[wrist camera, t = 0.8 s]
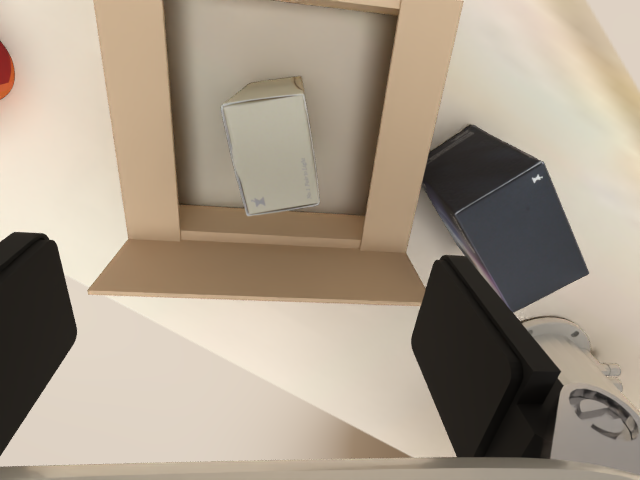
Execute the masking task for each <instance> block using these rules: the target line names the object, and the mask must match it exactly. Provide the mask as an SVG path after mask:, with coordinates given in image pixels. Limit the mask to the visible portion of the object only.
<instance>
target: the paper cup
mask: <svg viewBox="0 0 640 480" xmlns="http://www.w3.org/2000/svg"><path fill="white" fill-rule="evenodd" d="M14 78H15V73H14V66H13V63H12V60H11V57H10V55H9V53H8V51H7V50H6V48H5V47H4V45H3V44H2V43H1V41H0V99H2V98H4V97H5V96H6V95H7V94H8V93H9V92H10V90H11V89H12V87H13V84H14Z"/></svg>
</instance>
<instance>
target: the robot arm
mask: <svg viewBox="0 0 640 480" xmlns="http://www.w3.org/2000/svg"><path fill="white" fill-rule="evenodd" d="M76 335H77V327H76V323H75V319H74V315H73V310H72V306H71V302H70V298H69V294H68V289H67V285H66V281H65V277H64V273H63V268H62V264H61V260H60V256H59V251H58V247H57V244H56V243H55V241H53V240H49V238H48V237H47V235H45V234H43V233H25V232H14V233H12V234H10V235H9V236H8V237H6V238H5V239H4V240H2V241H1V242H0V456H1V454H2V453H3V451H4V450H5V448H6V447H7V445H8V443H9V442H10V440H11V439H12V437H13V436H14V434H15V433H16V431H17V430H18V428H19V427H20V425H21V424H22V422H23V421H24V419H25V418H26V416H27V414H28V413H29V411H30V410H31V408H32V407H33V405H34V404H35V402H36V401H37V399H38V398H39V396H40V395H41V393H42V392H43V390H44V389H45V387H46V385H47V384H48V382H49V381H50V379H51V378H52V376H53V375H54V373H55V372H56V370H57V369H58V367H59V365H60V364H61V362H62V361H63V360H64V358H65V356H66V355H67V353H68V351H69V350H70V349H71V347H72V346H73V344H74V342H75V339H76ZM411 345H412V349H413V352H414V355H415V357H416V359H417V362H418V364H419V367H420V369H421V371H422V374H423V376H424V379H425V381H426V383H427V386H428V388H429V391H430V393H431V395H432V398H433V400H434V403H435V405H436V408H437V410H438V412H439V415H440V417H441V420H442V422H443V424H444V427H445V429H446V432H447V434H448V436H449V439H450V441H451V444H452V446H453V448H454V451H455V453H456V456H457V457H433V458H374V459H373V458H371V459H370V458H369V459H313V460H312V459H311V460H310V459H307V460H265V461H264V460H260V461H259V460H258V461H211V462H166V463H126V464H87V465H53V466H52V465H50V466H12V467H0V480H640V412H639V411H638V410H637V409H636V408H635V407H634V406H633V405H632V404H631V402H630V401H629V400H628V399H627V398H626V397H625V396H624V395H623V394H622V393H621V392H622V389H623V387H622V383H621V382H620V380H619V379H617V378H616V377H606V376H619V375H620V373H621V369H620V367H619V365H617V364H613V363H603V364H600V363H599V362H598V361H597V360H596V359H595V358H594V357H593V355H592V354H591V353H590V352H591V346H590V341H589V339H588V337H587V335H586V334H585V333H584V332H583V331H582V330H581V329H580V328H579V327H578V326H577V325H576V324H574V323H573V322H570V321H568V320H566V319H561V318H551V317H546V318H538V319H534V320H530V321H526V322H523V323H521V322H520V321H519V320H518V318H517V317H516V316H515V315H514V314H513V312H512V311H511V310H510V309H509V308H508V306H507V305H506V304H505V303H504V301H503V300H502V299H501V298H500V297H499V295H498V294H497V293H496V292H495V291H494V289H493V288H492V287H491V286H490V284H489V283H488V282H487V281H486V280H485V278H484V277H483V276H482V275H481V274H480V272H479V271H478V270H477V269H476V268H475V266H474V265H473V264H472V263H471V261H470V260H469V259H468V258H467V257H466V256H453V255H444V256H442V257H441V258H440V260H436V261H435V262H434V264H433V267H432V270H431V273H430V277H429V280H428V283H427V287H426V290H425V294H424V297H423V300H422V304H421V307H420V310H419V314H418V317H417V320H416V324H415V327H414V331H413V334H412V338H411Z"/></svg>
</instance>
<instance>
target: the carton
mask: <svg viewBox="0 0 640 480" xmlns="http://www.w3.org/2000/svg"><path fill="white" fill-rule="evenodd" d="M93 1H94V8H95V15H96V22H97V29H98V35H99V42H100V49H101V56H102V63H103V69H104V76H105V83H106V90H107V97H108V103H109V110H110V117H111V124H112V131H113V138H114V144H115V151H116V158H117V165H118V172H119V178H120V185H121V192H122V199H123V206H124V212H125V219H126V226H127V233H128V240H127V241H126V243H125V244H124V245H123V246H122V248H121V249H120V250H119V251H118V253H117V254H116V255H115V256H114V258H113V259H112V260H111V261H110V263H109V264H108V265H107V267H106V268H105V269H104V270H103V272H102V273H101V274H100V275H99V277H98V278H97V279H96V280H95V282H94V283H93V284H92V285H91V287H90V288H89V289H88V295H113V296H142V297H171V298H200V299H229V300H258V301H287V302H315V303H344V304H373V305H402V306H421V304H422V300H423V297H424V294H425V290H426V289H425V287H424V285H423V283H422V281H421V280H420V278H419V276H418V274H417V272H416V270H415V269H414V267H413V265H412V263H411V261H410V260H409V258H408V256H407V254H406V250H407V246H408V241H409V237H410V233H411V228H412V224H413V220H414V215H415V211H416V207H417V202H418V198H419V193H420V189H421V185H422V180H423V176H424V172H425V167H426V163H427V159H428V154H429V150H430V146H431V141H432V137H433V132H434V128H435V124H436V119H437V115H438V111H439V106H440V102H441V98H442V93H443V89H444V85H445V80H446V76H447V71H448V67H449V63H450V58H451V54H452V50H453V45H454V41H455V37H456V32H457V28H458V23H459V19H460V15H461V10H462V6H463V2H464V1H462V0H273V1H281V2H289V3H298V4H306V5H314V6H323V7H331V8H339V9H347V10H356V11H364V12H372V13H381V14H389V15H397V16H398V19H397V25H396V31H395V37H394V43H393V49H392V55H391V61H390V68H389V74H388V80H387V86H386V92H385V98H384V104H383V110H382V116H381V122H380V128H379V134H378V140H377V146H376V152H375V158H374V164H373V170H372V176H371V183H370V189H369V195H368V201H367V207H366V213H365V216H362V215H346V214H329V213H313V212H296V211H282V212H276V213H268V214H261V215H253V216H247V215H246V212H245V208H230V207H214V206H197V205H181V204H179V201H178V188H177V174H176V161H175V148H174V135H173V122H172V109H171V95H170V82H169V69H168V56H167V43H166V29H165V16H164V3H163V0H93Z"/></svg>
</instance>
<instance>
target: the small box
mask: <svg viewBox="0 0 640 480" xmlns="http://www.w3.org/2000/svg"><path fill="white" fill-rule="evenodd" d="M422 186H423V188H424V190H425V192H426V193H427V195H428V197H429V199H430V200H431V202H432V204H433V205H434V207H435V209H436V211H437V212H438V214H439V216H440V217H441V219H442V221H443V222H444V224H445V226H446V227H447V229H448V231H449V232H450V234H451V236H452V237H453V239H454V240H455V242H456V244H457V245H458V247H459V248H460V249H461V251H462V252H463V253H464V255H465V256H466V257H467V258H468V259H469V260H470V261H471V263H472V264H473V265H474V266H475V268H476V269H477V270H478V271H479V272H480V274H481V275H482V276H483V277H484V278H485V280H486V281H487V282H488V283H489V284H490V286H491V287H492V288H493V289H494V291H495V292H496V293H497V294H498V295H499V297H500V298H501V299H502V300H503V301H504V303H505V304H506V305H507V306H508V308H509V309H510V310H511V311H512V312H515V311H517V310H520V309H522V308H524V307H526V306H528V305H530V304H532V303H534V302H535V301H537V300H539V299H541V298H543V297H545V296H547V295H549V294H551V293H553V292H555V291H557V290H558V289H560V288H562V287H564V286H566V285H568V284H570V283H572V282H574V281H576V280H578V279H580V278H582V277H584V276H586V275H588V274H589V271H588V269H587V267H586V264H585V261H584V259H583V257H582V254H581V251H580V249H579V247H578V244H577V242H576V239H575V237H574V234H573V232H572V229H571V227H570V224H569V222H568V220H567V217H566V215H565V212H564V210H563V208H562V205H561V202H560V200H559V198H558V195H557V193H556V190H555V188H554V185H553V183H552V181H551V178H550V176H549V173H548V171H547V168H546V166H545V164H544V162H543V161H540V160H538V159H536V158H534V157H533V156H531V155H529V154H527V153H525V152H523V151H521V150H519V149H517V148H515V147H513V146H512V145H509V144H508V143H505V142H503V141H501V140H499V139H498V138H496V137H494V136H492V135H490V134H488V133H487V132H484V131H483V130H481V129H480V128H478V127H476V126H475V125H470V126H469V127H466V128H465V129H464V130H463V131H462V132H460V133H459V134H456V136H454V137H453V138H451V139H450V140H448V141H446V142H445V143H444V144H442V145H441V146H438V147H437V148H436V149H434V150H433V151H431V152H429V154H428V159H427V163H426V167H425V172H424V176H423V180H422Z"/></svg>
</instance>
